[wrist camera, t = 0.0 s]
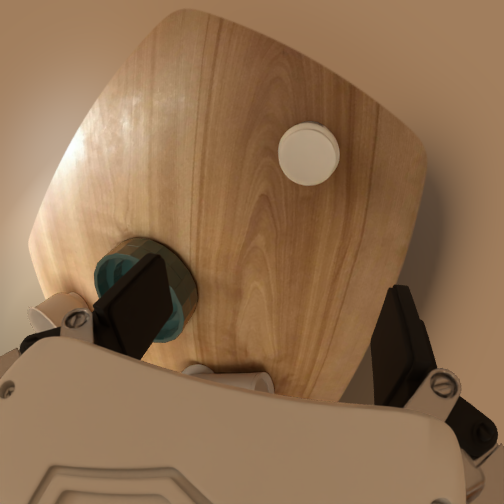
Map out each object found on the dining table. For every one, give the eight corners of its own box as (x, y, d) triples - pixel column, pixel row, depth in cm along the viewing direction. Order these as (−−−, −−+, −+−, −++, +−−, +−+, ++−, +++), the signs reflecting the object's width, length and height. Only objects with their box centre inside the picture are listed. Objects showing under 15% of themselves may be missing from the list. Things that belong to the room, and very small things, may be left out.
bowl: (105, 231, 36) (83, 247, 32) (193, 242, 33) (174, 262, 29) (126, 310, 43) (110, 328, 39) (203, 329, 40) (190, 352, 36)
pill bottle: (277, 152, 26) (259, 167, 19) (302, 112, 24) (294, 110, 17) (319, 177, 27) (317, 204, 19) (345, 139, 24) (355, 149, 17)
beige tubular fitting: (170, 338, 41) (176, 399, 51) (154, 394, 32) (167, 442, 42) (282, 353, 42) (260, 410, 52) (287, 411, 33) (260, 453, 43)
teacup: (112, 344, 50) (86, 378, 42) (60, 306, 50) (32, 334, 41) (115, 309, 44) (82, 347, 35) (57, 266, 44) (22, 295, 35)
